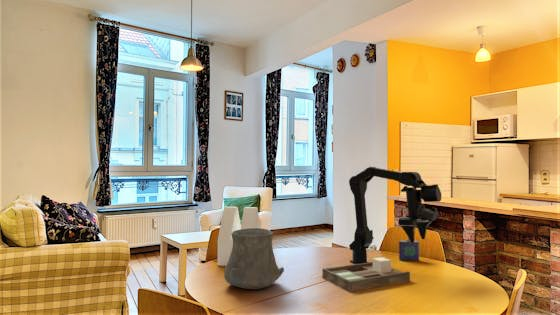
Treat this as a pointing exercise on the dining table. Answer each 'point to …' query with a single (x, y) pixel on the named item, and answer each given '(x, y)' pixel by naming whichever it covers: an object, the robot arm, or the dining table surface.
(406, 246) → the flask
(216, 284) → the dining table surface
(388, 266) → the block
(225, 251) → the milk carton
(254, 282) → the vessel
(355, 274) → the box
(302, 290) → the dining table surface
